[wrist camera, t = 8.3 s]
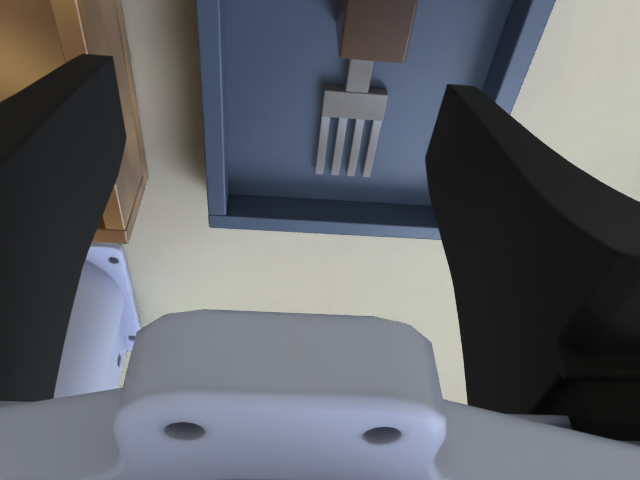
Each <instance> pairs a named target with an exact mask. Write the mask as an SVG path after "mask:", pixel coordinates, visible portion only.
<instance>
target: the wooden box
mask: <svg viewBox="0 0 640 480" xmlns="http://www.w3.org/2000/svg"><path fill="white" fill-rule="evenodd" d="M81 54H94V55H106V56H113V59H114V65H115V71H116V77H117V83H118V89H119V95H120V100H121V106H122V112H123V118H124V124H125V130H126V136H127V139H126V144H125V149H124V154H123V158H122V163H121V167H120V171H119V175H118V178H117V180H116V183H115V186H114V188H113V191H112V193H111V196H110V198H109V201H108V203H107V206H106V208H105V211H104V213H103V216H102V218H101V221H100V223H99V226H98V228H97V231H96V233H95V236H94V238H93V241H92V242H100V243H120V244H128V243H129V240H130V237H131V233H132V230H133V227H134V223H135V220H136V217H137V213H138V210H139V207H140V203H141V200H142V197H143V193H144V190H145V186H146V183H147V180H148V171H147V164H146V158H145V151H144V145H143V139H142V132H141V126H140V119H139V113H138V106H137V100H136V93H135V87H134V80H133V74H132V68H131V61H130V55H129V48H128V42H127V35H126V29H125V22H124V16H123V10H122V3H121V0H0V102H1V101H3V100H5V99H7V98H8V97H10V96H12V95H14V94H16V93H17V92H19V91H21V90H22V89H24V88H26V87H27V86H29V85H31V84H32V83H34V82H35V81H37V80H39V79H40V78H42V77H44V76H45V75H47V74H48V73H50V72H52V71H53V70H55V69H56V68H58V67H60V66H61V65H63V64H65V63H66V62H68V61H70V60H71V59H73V58H75V57H77V56H79V55H81Z"/></svg>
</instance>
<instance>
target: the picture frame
mask: <svg viewBox="0 0 640 480" xmlns="http://www.w3.org/2000/svg"><path fill="white" fill-rule="evenodd" d="M555 1H556V0H419V1H418V6H417V10H416V15H415V19H414V24H413V28H412V32H411V37H410V41H409V46H408V50H407V55H406V59H405V62H404V63H392V62H380V61H374V63H373V69H372V74H371V80H370V85H369V88H381V89H387V92H388V99H387V104H386V109H385V114H384V118H383V121H382V123H381V128H380V133H379V137H378V142H377V147H376V152H375V156H374V161H373V166H372V171H371V175H370V177H362V167H363V162H364V157H365V152H366V147H367V142H368V136H369V131H370V126H371V121H372V120H365V122H364V127H363V133H362V138H361V143H360V149H359V154H358V160H357V165H356V171H355V176H347V175H346V168H347V162H348V156H349V150H350V144H351V138H352V133H353V127H354V121H355V119H347V126H346V132H345V139H344V145H343V151H342V158H341V164H340V170H339V175H331V171H330V169H331V162H332V155H333V148H334V141H335V134H336V127H337V120H338V118H334V117H330V124H329V131H328V139H327V147H326V154H325V162H324V170H323V174H315V161H316V153H317V144H318V136H319V127H320V119H321V106H322V97H323V89H324V84H329V85H342V86H345V79H346V72H347V65H348V59H343V58H340V57H339V52H338V42H337V32H336V15H337V6H338V0H196V17H197V34H198V50H199V67H200V84H201V100H202V117H203V134H204V150H205V167H206V184H207V200H208V213H209V214H208V218H209V227H210V228H227V229H246V230H265V231H284V232H303V233H322V234H340V235H359V236H378V237H397V238H416V239H434V240H441V236H440V233H439V229H438V226H437V222H436V218H435V215H434V211H433V207H432V204H431V200H430V196H429V190H428V182H427V174H426V164H425V156H426V153H427V150H428V146H429V143H430V139H431V136H432V133H433V129H434V126H435V123H436V119H437V116H438V113H439V109H440V106H441V102H442V99H443V96H444V92H445V89H446V86H447V84H456V85H468V86H475V87H476V88H478V89H479V90H481V91H482V92H483V93H484V94H486V95H487V96H488V97H489V98H491V99H492V100H493V101H494V102H495V103H496V104H498V105H499V106H500V107H501V108H502V109H503V110H505V111H506V112H507V113H508V114H509V115H510V114H511V111H512V109H513V106H514V104H515V101H516V99H517V96H518V94H519V91H520V89H521V86H522V84H523V81H524V79H525V76H526V74H527V71H528V69H529V66H530V64H531V61H532V59H533V56H534V54H535V51H536V49H537V46H538V44H539V41H540V39H541V36H542V34H543V31H544V29H545V26H546V24H547V21H548V19H549V16H550V14H551V11H552V9H553V6H554V4H555Z"/></svg>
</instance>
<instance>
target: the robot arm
mask: <svg viewBox="0 0 640 480" xmlns="http://www.w3.org/2000/svg"><path fill="white" fill-rule="evenodd" d="M126 139H127V136H126V130H125V124H124V118H123V112H122V106H121V100H120V95H119V89H118V83H117V77H116V71H115V65H114V59H113V56H106V55H94V54H81V55H79V56H77V57H75V58H73V59H71V60H70V61H68V62H66V63H65V64H63V65H61V66H60V67H58V68H56V69H55V70H53V71H52V72H50V73H48V74H47V75H45V76H44V77H42V78H40V79H39V80H37V81H35V82H34V83H32V84H31V85H29V86H27V87H26V88H24V89H22V90H21V91H19V92H17V93H16V94H14V95H12V96H10V97H8V98H7V99H5V100H3V101H1V102H0V480H640V202H638V201H636V200H634V199H632V198H630V197H628V196H626V195H624V194H622V193H620V192H618V191H617V190H615V189H613V188H611V187H609V186H607V185H606V184H604V183H602V182H600V181H599V180H597V179H596V178H594V177H592V176H591V175H589V174H588V173H586V172H584V171H583V170H581V169H579V168H578V167H576V166H575V165H573V164H572V163H570V162H569V161H567V160H566V159H565V158H563V157H562V156H560V155H559V154H558V153H556V152H555V151H554V150H552V149H551V148H550V147H548V146H547V145H546V144H544V143H543V142H542V141H541V140H539V139H538V138H537V137H535V136H534V135H533V134H532V133H531V132H529V131H528V130H527V129H526V128H525V127H523V126H522V125H521V124H520V123H519V122H517V121H516V120H515V119H514V118H513V117H512V116H510V115H509V114H508V113H507V112H506V111H505V110H503V109H502V108H501V107H500V106H499V105H498V104H496V103H495V102H494V101H493V100H492V99H491V98H489V97H488V96H487V95H486V94H484V93H483V92H482V91H481V90H479V89H478V88H476V87H475V86H468V85H456V84H447V86H446V89H445V92H444V96H443V99H442V102H441V106H440V109H439V113H438V116H437V119H436V123H435V126H434V129H433V133H432V136H431V139H430V143H429V146H428V150H427V153H426V156H425V164H426V174H427V182H428V190H429V196H430V200H431V204H432V207H433V211H434V215H435V218H436V222H437V226H438V229H439V233H440V236H441V240H442V243H443V247H444V251H445V254H446V258H447V261H448V265H449V268H450V273H451V277H452V281H453V286H454V293H455V299H456V306H457V312H458V319H459V327H460V335H461V343H462V351H463V359H464V370H465V380H466V391H467V402H468V405H465V404H461V403H457V402H452V401H448V400H444V399H443V398H442V393H441V388H440V383H439V378H438V373H437V368H436V363H435V358H434V353H433V348H432V343H431V342H430V341H429V340H428V339H427V338H425V337H424V336H423V335H422V334H420V333H419V332H418V331H417V330H416V329H414V328H413V327H412V326H411V325H408V324H406V323H402V322H397V321H392V320H388V319H383V318H378V317H374V316H351V315H327V314H303V313H280V312H256V311H232V310H208V309H203V310H194V311H186V312H178V313H170V314H166V315H163V316H162V317H160V318H158V319H157V320H155V321H153V322H152V323H150V324H148V325H147V326H145V327H143V328H142V329H141V326H140V322H139V318H138V313H137V309H136V304H135V300H134V295H133V291H132V286H131V282H130V277H129V273H128V268H127V264H126V259H125V255H124V250H123V248H122V246H121V245H119V244H118V243H100V242H92V241H93V238H94V236H95V233H96V231H97V228H98V226H99V223H100V221H101V218H102V216H103V213H104V211H105V208H106V206H107V203H108V201H109V198H110V196H111V193H112V191H113V188H114V186H115V183H116V180H117V178H118V175H119V171H120V167H121V163H122V158H123V154H124V149H125V144H126ZM113 257H115V258H113ZM126 351H132V352H131V356H130V360H129V364H128V368H127V372H126V376H125V381H124V385H123V388H117V385H118V381H119V377H120V373H121V369H122V365H123V361H124V357H125V354H126Z"/></svg>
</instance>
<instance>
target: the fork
mask: <svg viewBox="0 0 640 480" xmlns="http://www.w3.org/2000/svg"><path fill="white" fill-rule="evenodd" d="M418 1H419V0H338V6H337V15H336V32H337V42H338V52H339V57H340V58H343V59H348V65H347V72H346V79H345V86H342V85H329V84H324V89H323V97H322V106H321V119H320V127H319V136H318V144H317V153H316V161H315V174H323V170H324V162H325V154H326V147H327V139H328V131H329V124H330V117H334V118H338V120H337V127H336V134H335V141H334V148H333V155H332V162H331V169H330V171H331V175H339V170H340V164H341V158H342V151H343V145H344V139H345V132H346V126H347V119H355V121H354V127H353V133H352V138H351V144H350V150H349V156H348V162H347V168H346V175H347V176H355V171H356V165H357V160H358V154H359V149H360V143H361V138H362V133H363V127H364V122H365V120H372V121H371V126H370V131H369V136H368V142H367V147H366V152H365V157H364V162H363V167H362V177H370V175H371V171H372V166H373V161H374V156H375V152H376V147H377V142H378V137H379V133H380V128H381V123H382V121H383V118H384V114H385V109H386V104H387V99H388V92H387V89H381V88H369V85H370V80H371V74H372V69H373V63H374V61H380V62H392V63H404V62H405V59H406V55H407V50H408V46H409V41H410V37H411V32H412V28H413V24H414V19H415V15H416V10H417V6H418Z"/></svg>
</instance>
